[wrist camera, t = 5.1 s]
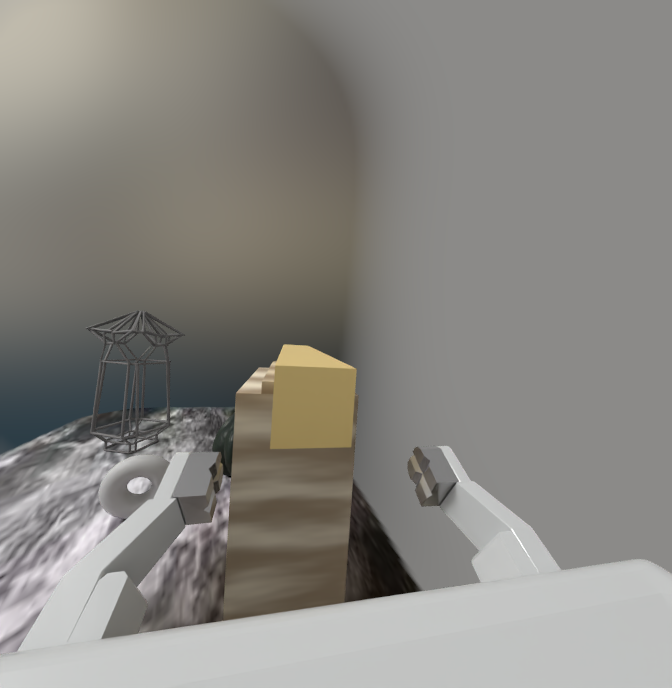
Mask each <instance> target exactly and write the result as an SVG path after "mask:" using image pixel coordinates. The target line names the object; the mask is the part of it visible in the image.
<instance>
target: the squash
mask: <svg viewBox="0 0 672 688" xmlns="http://www.w3.org/2000/svg"><path fill="white" fill-rule="evenodd" d="M234 421H235V413H234V414H233V415H232V416H231V417H229V418H228V419H227V420H226V421H225V423H224V424H223V425H222V426H221V428H220V429H219V431H218V433H217V435H216V437H215V440H214V443H213V448H212V452H221V456H222V458H221V461H220V463H222V464H223V474H224V475H227V476H231V472H232V455H233V438H234Z"/></svg>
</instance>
